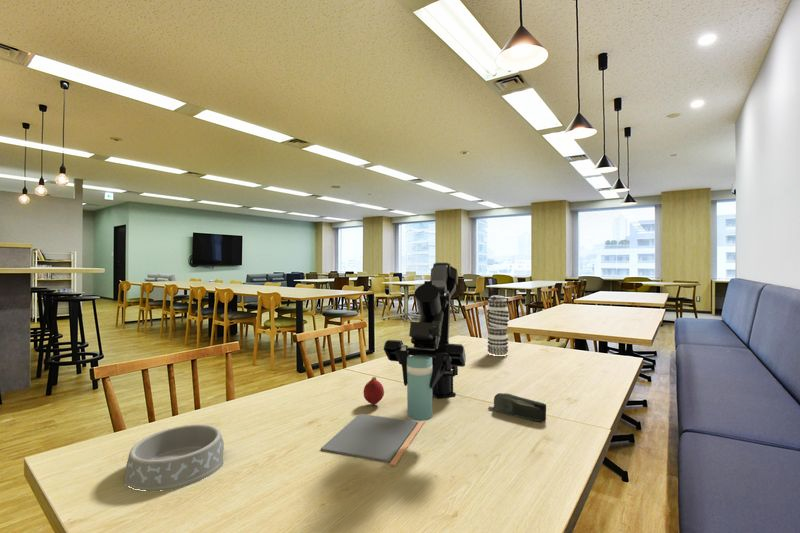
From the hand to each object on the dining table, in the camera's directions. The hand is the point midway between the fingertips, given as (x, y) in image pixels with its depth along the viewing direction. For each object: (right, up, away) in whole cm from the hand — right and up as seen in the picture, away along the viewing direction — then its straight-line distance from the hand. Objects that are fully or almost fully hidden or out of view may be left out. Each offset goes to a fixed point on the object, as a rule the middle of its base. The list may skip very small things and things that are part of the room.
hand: (417, 386), depth 87 cm
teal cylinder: (+1, -7, +1) cm, 7 cm away
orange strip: (-2, -13, +2) cm, 14 cm away
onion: (-11, -13, +24) cm, 30 cm away
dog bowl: (-49, -14, -7) cm, 51 cm away
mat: (-10, -13, +5) cm, 18 cm away
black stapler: (+27, -13, +17) cm, 34 cm away
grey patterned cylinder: (+38, -11, +82) cm, 91 cm away
